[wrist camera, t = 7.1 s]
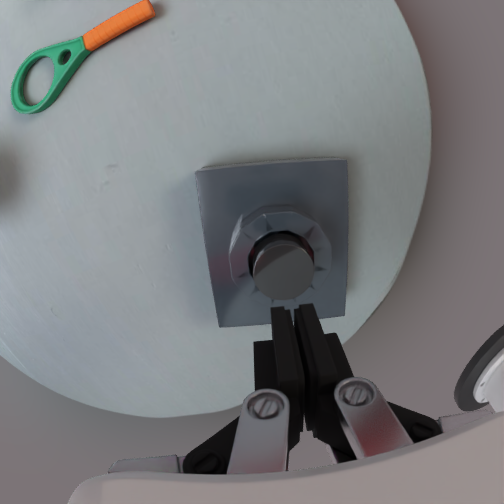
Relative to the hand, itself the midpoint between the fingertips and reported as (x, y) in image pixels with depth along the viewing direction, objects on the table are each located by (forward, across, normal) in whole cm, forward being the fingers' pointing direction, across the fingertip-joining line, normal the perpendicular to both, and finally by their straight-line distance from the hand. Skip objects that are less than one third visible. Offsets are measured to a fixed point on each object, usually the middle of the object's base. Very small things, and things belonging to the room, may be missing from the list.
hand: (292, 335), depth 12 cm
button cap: (+8, 0, 0) cm, 8 cm away
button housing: (+13, 0, 0) cm, 13 cm away
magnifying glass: (+13, +15, -18) cm, 26 cm away
